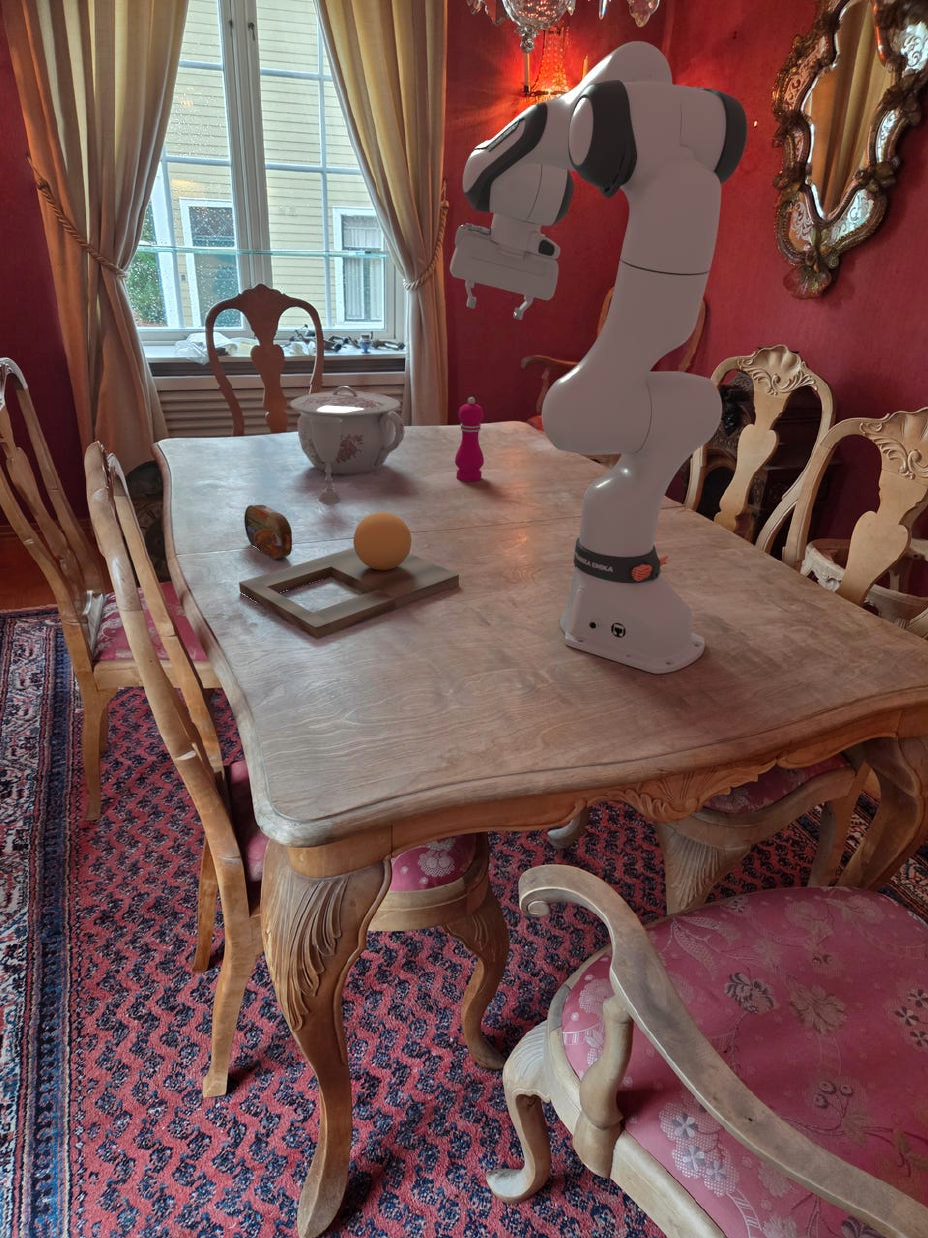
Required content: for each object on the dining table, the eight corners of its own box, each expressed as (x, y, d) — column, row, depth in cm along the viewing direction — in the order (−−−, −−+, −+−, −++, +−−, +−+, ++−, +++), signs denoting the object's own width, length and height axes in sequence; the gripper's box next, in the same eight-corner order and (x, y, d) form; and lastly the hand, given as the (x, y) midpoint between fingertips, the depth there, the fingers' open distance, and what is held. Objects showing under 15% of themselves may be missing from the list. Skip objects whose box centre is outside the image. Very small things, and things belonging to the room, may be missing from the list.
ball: (423, 568, 135) (423, 514, 130) (379, 584, 129) (377, 528, 124) (386, 552, 141) (385, 500, 137) (343, 566, 135) (340, 512, 130)
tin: (244, 541, 150) (240, 500, 146) (259, 538, 152) (255, 497, 148) (281, 565, 140) (277, 522, 136) (297, 562, 141) (293, 518, 138)
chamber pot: (289, 457, 205) (282, 377, 196) (389, 452, 213) (387, 375, 204) (301, 487, 182) (294, 398, 172) (413, 480, 189) (413, 395, 180)
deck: (458, 585, 134) (459, 574, 133) (316, 639, 115) (316, 627, 114) (378, 549, 148) (378, 540, 147) (240, 593, 128) (238, 582, 128)
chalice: (307, 501, 173) (302, 420, 165) (326, 493, 178) (321, 415, 170) (333, 506, 170) (329, 425, 162) (351, 498, 175) (348, 419, 167)
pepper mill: (480, 483, 189) (483, 400, 180) (451, 480, 190) (453, 398, 181) (485, 475, 195) (488, 395, 186) (457, 472, 196) (459, 393, 187)
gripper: (460, 222, 135) (442, 303, 142) (568, 251, 139) (546, 328, 147) (457, 217, 140) (440, 296, 147) (561, 245, 145) (540, 320, 152)
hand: (493, 312), depth 147 cm, fingers open, 8 cm apart
